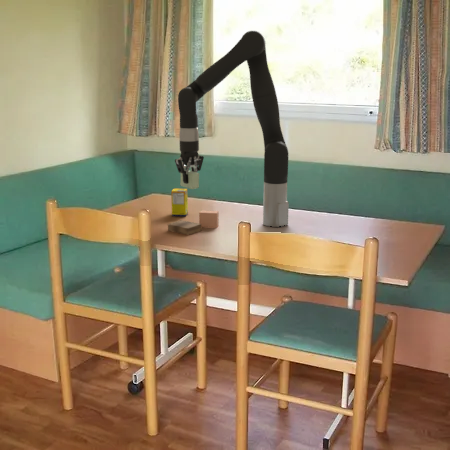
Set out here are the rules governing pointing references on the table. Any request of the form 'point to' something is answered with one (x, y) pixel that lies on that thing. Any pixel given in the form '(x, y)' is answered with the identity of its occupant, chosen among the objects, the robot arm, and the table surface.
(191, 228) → the walnut slab
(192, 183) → the sage brick
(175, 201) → the supplement box
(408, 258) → the table surface
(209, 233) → the table surface
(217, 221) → the terracotta brick
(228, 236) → the table surface
